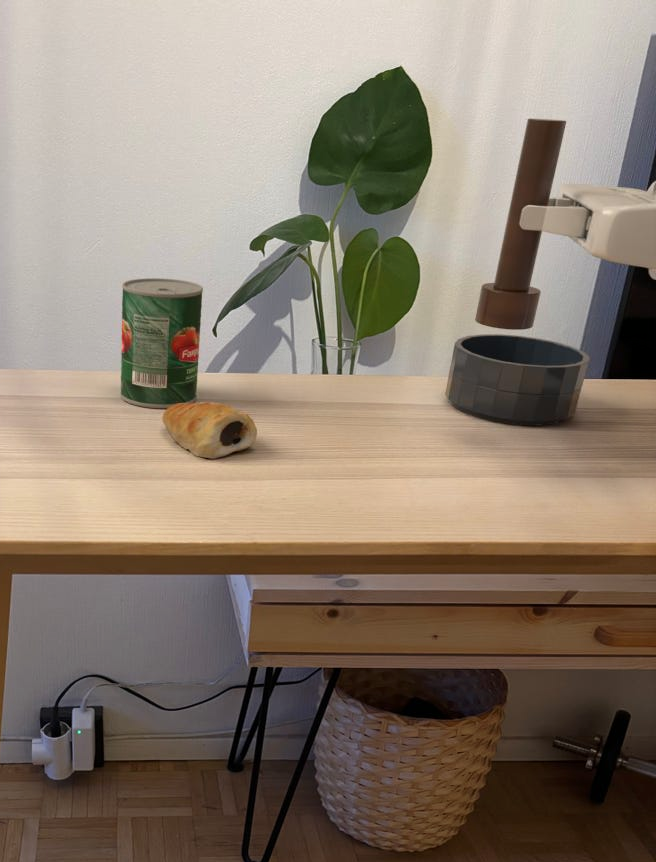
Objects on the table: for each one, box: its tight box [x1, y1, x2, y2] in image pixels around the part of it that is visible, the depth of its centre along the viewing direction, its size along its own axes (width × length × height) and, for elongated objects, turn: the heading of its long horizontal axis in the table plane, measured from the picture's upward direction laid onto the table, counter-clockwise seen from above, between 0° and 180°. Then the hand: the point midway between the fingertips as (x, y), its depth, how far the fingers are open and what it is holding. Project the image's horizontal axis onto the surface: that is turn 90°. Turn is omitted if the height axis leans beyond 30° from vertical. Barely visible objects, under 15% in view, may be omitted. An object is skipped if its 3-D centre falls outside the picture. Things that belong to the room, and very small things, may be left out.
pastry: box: [161, 401, 258, 460], centre depth 86 cm, size 9×7×4 cm
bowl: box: [444, 333, 590, 426], centre depth 100 cm, size 13×13×6 cm
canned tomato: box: [119, 277, 204, 409], centre depth 96 cm, size 8×8×11 cm
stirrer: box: [474, 118, 567, 331], centre depth 81 cm, size 5×5×16 cm
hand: (516, 213), depth 81 cm, fingers closed on stirrer, 3 cm apart
